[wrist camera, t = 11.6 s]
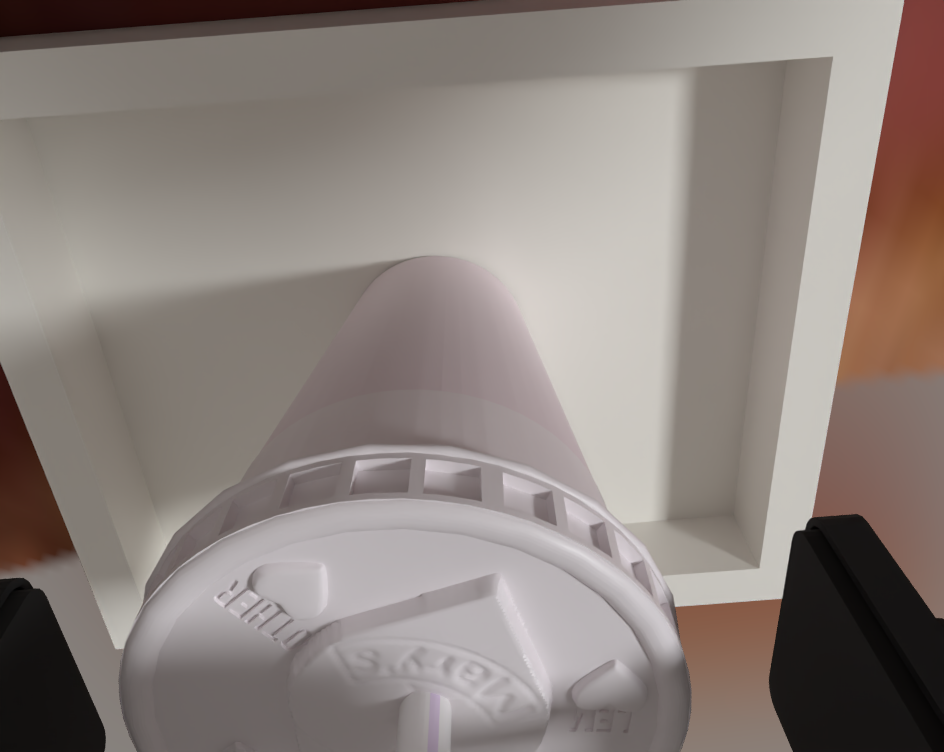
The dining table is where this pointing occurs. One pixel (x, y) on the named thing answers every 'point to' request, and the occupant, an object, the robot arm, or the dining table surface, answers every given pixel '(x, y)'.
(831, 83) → the tray
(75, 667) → the robot arm
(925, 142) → the dining table surface
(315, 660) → the smoothie
